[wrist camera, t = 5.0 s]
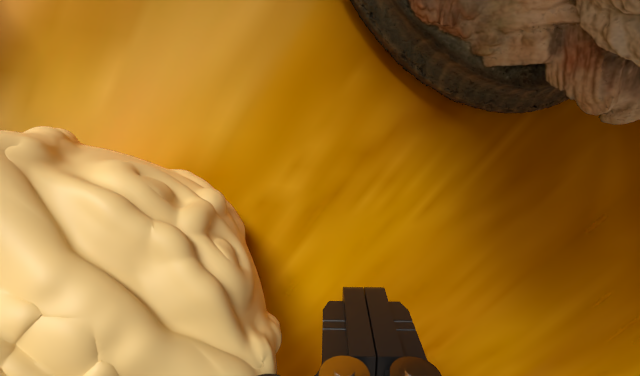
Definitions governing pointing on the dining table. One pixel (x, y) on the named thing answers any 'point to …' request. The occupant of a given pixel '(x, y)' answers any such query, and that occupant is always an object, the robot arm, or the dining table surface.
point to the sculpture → (122, 268)
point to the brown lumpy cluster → (518, 51)
